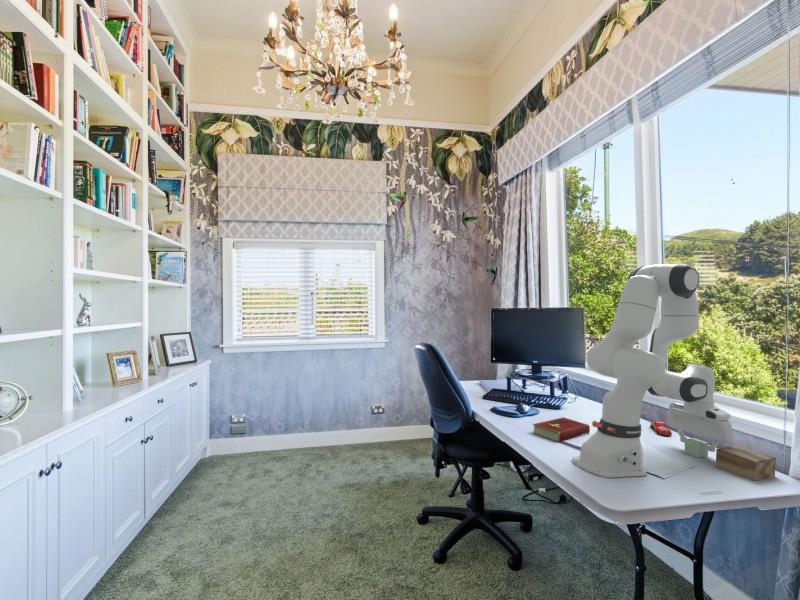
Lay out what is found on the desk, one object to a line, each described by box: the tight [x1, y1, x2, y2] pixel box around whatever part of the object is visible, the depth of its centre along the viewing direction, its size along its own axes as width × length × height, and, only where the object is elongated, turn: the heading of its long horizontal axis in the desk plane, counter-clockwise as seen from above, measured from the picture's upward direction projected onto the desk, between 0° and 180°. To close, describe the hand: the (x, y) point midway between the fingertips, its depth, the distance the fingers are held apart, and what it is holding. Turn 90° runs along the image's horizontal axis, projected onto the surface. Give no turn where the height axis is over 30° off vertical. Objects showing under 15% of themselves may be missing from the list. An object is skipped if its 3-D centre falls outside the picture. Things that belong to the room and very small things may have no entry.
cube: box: [683, 437, 709, 459], centre depth 146 cm, size 5×5×5 cm
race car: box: [649, 420, 673, 437], centre depth 171 cm, size 13×5×4 cm, turn 162°
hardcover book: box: [532, 416, 591, 443], centre depth 164 cm, size 12×21×4 cm, turn 125°
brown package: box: [715, 445, 777, 482], centre depth 132 cm, size 11×11×6 cm
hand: (697, 446), depth 146 cm, fingers open, 8 cm apart
